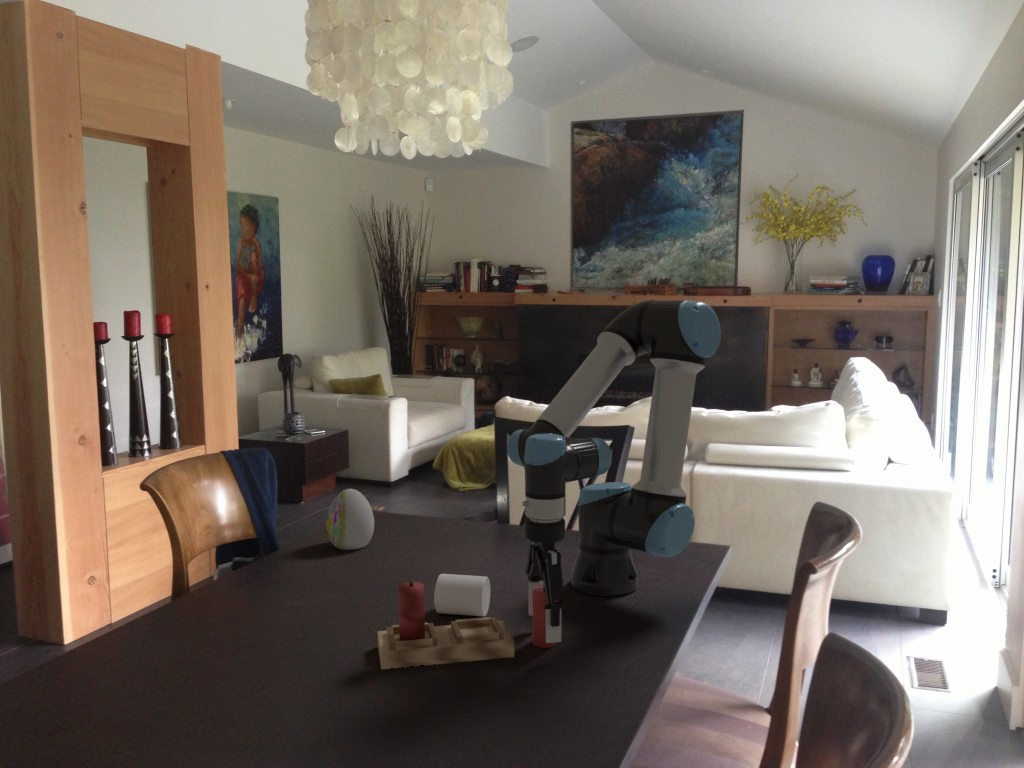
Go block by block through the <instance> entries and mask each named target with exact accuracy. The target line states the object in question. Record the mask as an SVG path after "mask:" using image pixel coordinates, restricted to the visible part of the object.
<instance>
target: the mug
mask: <svg viewBox="0 0 1024 768" xmlns="http://www.w3.org/2000/svg"><path fill="white" fill-rule="evenodd" d="M490 581H491V580H490V578H489V577H488V576H483V575H470V574H469V575H467V574H466V575H465V574H453V573H451V574H450V573H440V574H439V575H438V577H437V579H436V581H435V582H436V583H435V585H434V586H435V587H434V588H435V589H434V597H433V599H434V602H433V603H434V608H435V611H436V613H438V614H445V615H446V614H447V615H457V616H469V617H470V616H471V617H473V616H474V617H481V618H485V617H487V614H488V612H489V607H490V603H491V602H490V601H491V582H490Z"/></svg>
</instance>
